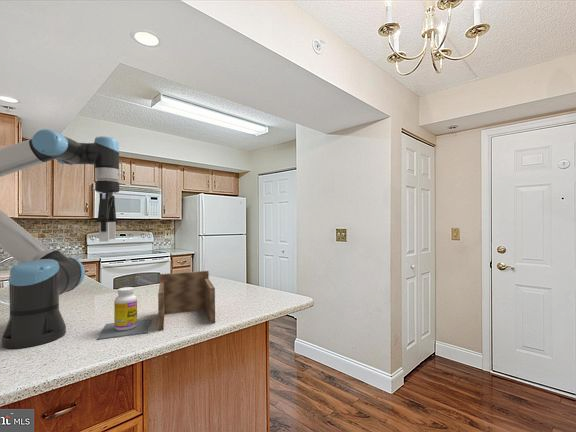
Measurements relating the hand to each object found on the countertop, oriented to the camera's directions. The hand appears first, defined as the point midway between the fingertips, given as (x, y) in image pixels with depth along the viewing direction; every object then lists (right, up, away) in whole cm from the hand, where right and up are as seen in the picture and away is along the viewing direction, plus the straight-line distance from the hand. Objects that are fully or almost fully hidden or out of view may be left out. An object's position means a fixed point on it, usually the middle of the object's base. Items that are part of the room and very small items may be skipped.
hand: (108, 240), depth 110 cm
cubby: (+28, -28, +1) cm, 40 cm away
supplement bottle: (+11, -28, -9) cm, 32 cm away
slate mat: (+11, -29, -9) cm, 32 cm away
